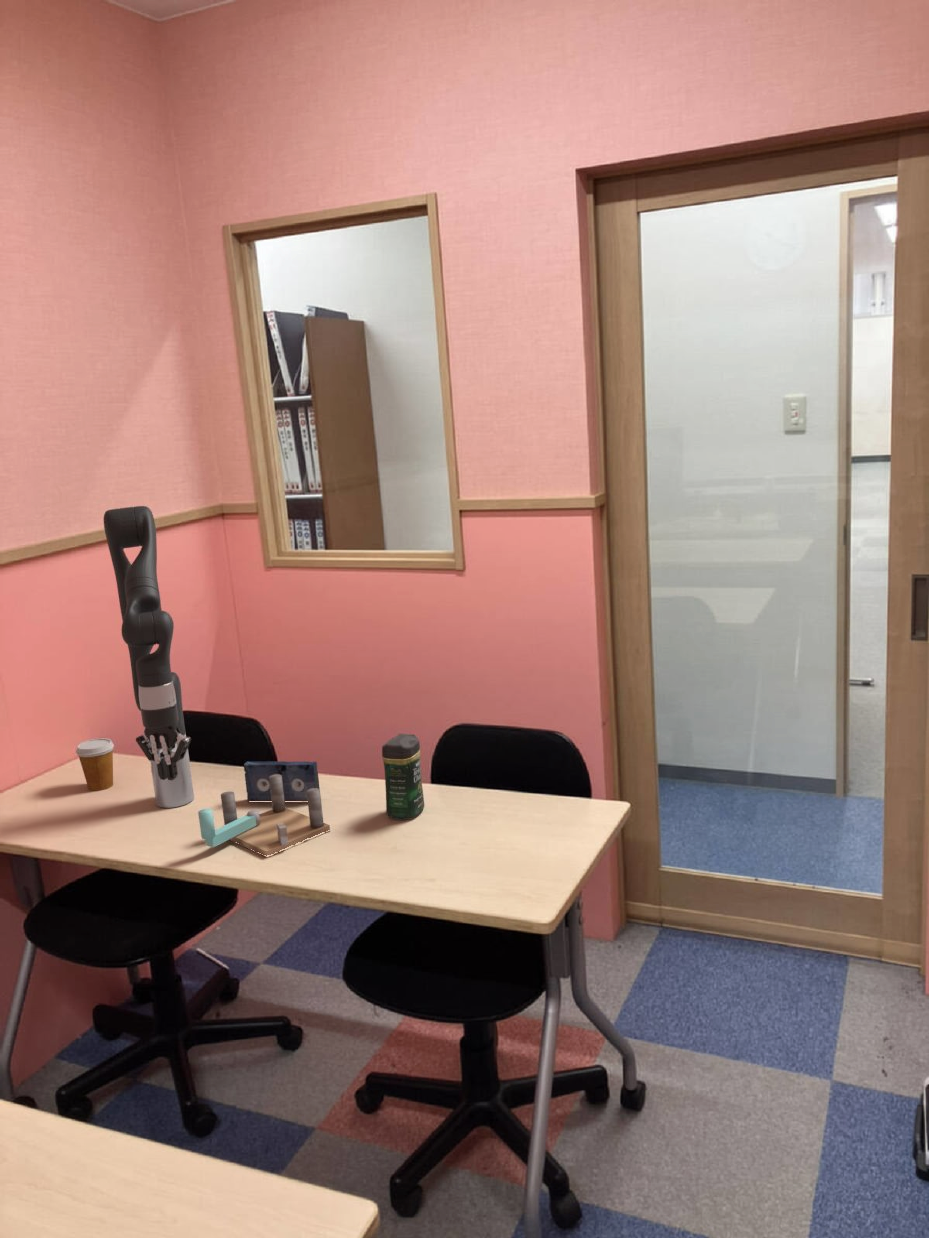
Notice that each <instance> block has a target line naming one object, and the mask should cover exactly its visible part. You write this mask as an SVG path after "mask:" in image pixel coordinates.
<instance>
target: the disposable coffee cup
mask: <svg viewBox="0 0 929 1238" xmlns="http://www.w3.org/2000/svg"><path fill="white" fill-rule="evenodd" d="M76 746H77V747H76V750H75V753H76V755H77V756H78V758H79V762H80V765H81V769H82V772H83V775H84V779H85V782H86V785H87V788H88V790H89V791H96V792H98V791H103V790H107V789H110V788H111V787H113V785H114V757H113V756H114V753H113V752H114V747H115V743H113V741H112V739H110V738H106V737H105V738H103V737H102V738H93V739H88V740H84V741H82V742H80V743H79V744H78V745H76Z"/></svg>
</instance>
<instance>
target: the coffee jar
mask: <svg viewBox="0 0 929 1238" xmlns="http://www.w3.org/2000/svg"><path fill="white" fill-rule="evenodd" d="M381 756H382V757H381V758H382V762H383V768H384V783H385V807H386V815H387V817H389V818H392V819H394V820H399V821H403V820H409V819H414V818H416V817H417V816H418V815H419V814H421V813H422V811H423V810H424V808H425V797H424V789H423V782H422V773H421V772H422V771H421V770H422V769H421V747H420V739H419V738H418V737H417V735H415V734H410V733H398V734H397V735H396V736H393V737H392V738H390V739H388V740H387V741H386V742H385V743H384V744H383V745H382V747H381Z"/></svg>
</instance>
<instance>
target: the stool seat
mask: <svg viewBox="0 0 929 1238" xmlns="http://www.w3.org/2000/svg"><path fill="white" fill-rule="evenodd" d="M269 784H270V792H271V801H272V802H271V806H272V807H271V808H272V809H268V810H266V811H264V812H262V813H259V817H260V824H259V825H257V826H255V827H253V828H251V829H249V830H247V831H245V832H243V833H241V834H239V835H237V836H235V837H233V838H231V839H230V840H232V841H233V843H235V842H237V843H239V844H241V845H243V846H245V847H247V848H248V849H247V848H246V849H247V850H249V849H252V850H254V851H255V853H256V852H259V853H261V854H263V855H266V856H267V855H271V854H274V853H275V852H279V851H280V850H282V849H285V848H287V847H289V846H291V845H295V844H296V843H298V842H302V841H303V840H305V839H307V838H311V837H313V836H315V835H318V834H320V833H322V832H326V831H328V830H330V831H331V827H330V824H328V823H325V822H324V817H323V815H324V814H323V806H322V796H321V789H318V788H312V789H309V790H307V799H308V803H307V807H308V808H307V809H308V815H306V814H303V813H300V812H298V811H295V810H293V809H291V808H288V807H286V804H285V801H284V792H283V783H282V775H280V774H275V775H271V776H269ZM220 799H221V808H222V816H223V817H222V818H223V824H224V825H226V824H228V823H231V822H233V821H235V820H237V819H238V813H237V803H236V797H235V792H234V791H225V792H222V793H221V794H220ZM224 825H223V826H224ZM230 840H229V841H230ZM232 841H231V842H232ZM237 843H236V844H237ZM239 844H238V845H239ZM241 845H240V846H241ZM243 846H242V847H243ZM245 847H244V848H245ZM252 850H251V851H252ZM254 851H253V852H254Z"/></svg>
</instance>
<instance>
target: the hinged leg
mask: <svg viewBox="0 0 929 1238" xmlns="http://www.w3.org/2000/svg"><path fill="white" fill-rule="evenodd" d="M197 813H198V814H197V815H198V822H199V828H200V829H199V830H200V837H201V839H203V840H205V845H206V846H208V847H211V848H215V847H218V845H222V844H223V843H225V842H226V841H230V840H229V839H231V838H233V837H235V836H237V835H239V834H241V833H243V832H245V831H247V830H249V829H251V828H253V827H255V826H257V825H259V824H260V817H259V814H260V811H259V810H257V809H253V810H252V809H251V810H249V811H247V812H246V813H247V814H244V815H242V816H241V817H239V818H237V820H235V821H233V822H231V823H228V824H226V825H223V826H221V827H218V828H217V829H215V820H214V812H213V809H211V808H203V809H200V810H198V812H197Z"/></svg>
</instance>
